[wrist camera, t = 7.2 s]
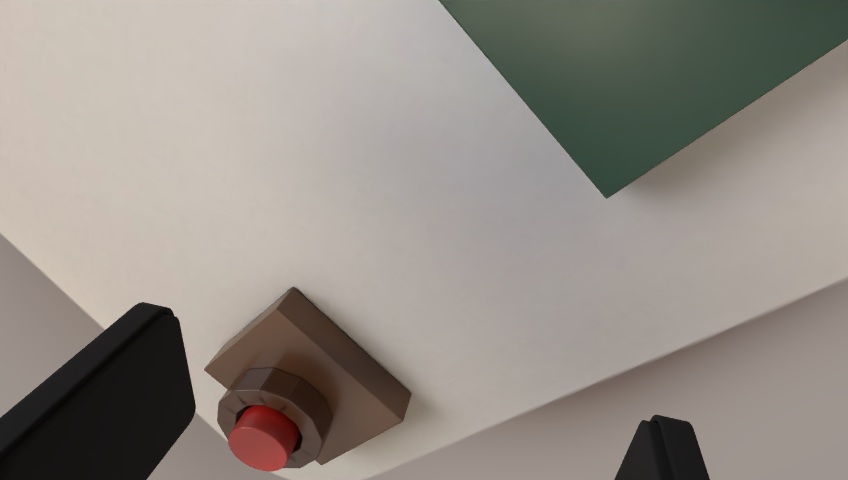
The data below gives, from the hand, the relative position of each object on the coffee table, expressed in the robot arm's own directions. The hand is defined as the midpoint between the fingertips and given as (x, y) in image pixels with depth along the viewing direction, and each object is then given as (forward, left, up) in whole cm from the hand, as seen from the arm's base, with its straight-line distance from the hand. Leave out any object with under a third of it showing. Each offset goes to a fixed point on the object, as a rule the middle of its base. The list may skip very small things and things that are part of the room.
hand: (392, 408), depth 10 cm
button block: (-4, +17, -15) cm, 23 cm away
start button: (-4, +19, -11) cm, 23 cm away
